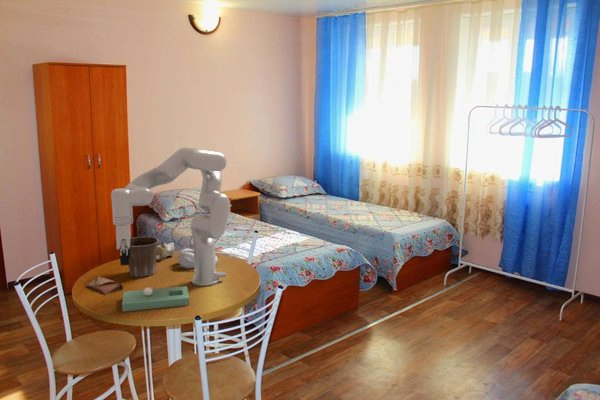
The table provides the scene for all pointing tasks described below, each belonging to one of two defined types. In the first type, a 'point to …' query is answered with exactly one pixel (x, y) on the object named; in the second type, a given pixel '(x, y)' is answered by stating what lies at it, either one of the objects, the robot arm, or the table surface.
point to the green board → (155, 298)
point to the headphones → (188, 258)
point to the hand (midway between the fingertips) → (125, 261)
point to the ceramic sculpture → (164, 250)
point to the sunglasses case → (104, 285)
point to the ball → (148, 291)
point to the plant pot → (143, 256)
